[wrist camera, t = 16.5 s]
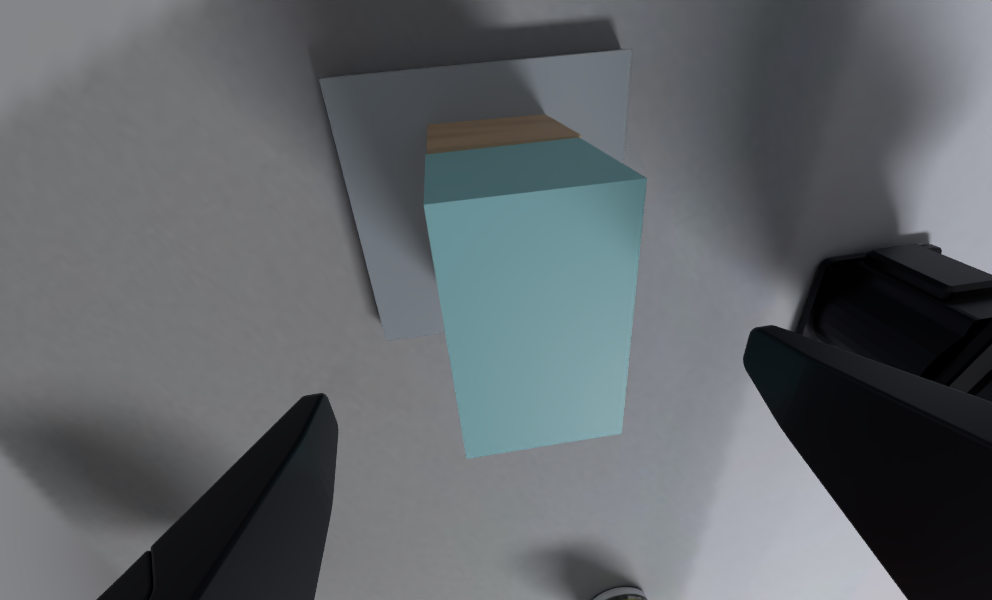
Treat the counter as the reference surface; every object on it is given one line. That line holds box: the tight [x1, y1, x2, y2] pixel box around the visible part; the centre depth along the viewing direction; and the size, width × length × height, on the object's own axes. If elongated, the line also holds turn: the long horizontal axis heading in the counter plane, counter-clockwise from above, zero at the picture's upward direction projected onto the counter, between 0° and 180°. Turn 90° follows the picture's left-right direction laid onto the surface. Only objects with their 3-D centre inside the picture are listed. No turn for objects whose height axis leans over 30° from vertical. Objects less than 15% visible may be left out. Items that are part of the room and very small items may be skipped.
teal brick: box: [424, 138, 647, 459], centre depth 12 cm, size 7×4×4 cm, turn 5°
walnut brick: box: [427, 114, 581, 154], centre depth 16 cm, size 7×4×4 cm, turn 4°
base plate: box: [319, 49, 632, 341], centre depth 18 cm, size 11×11×1 cm
